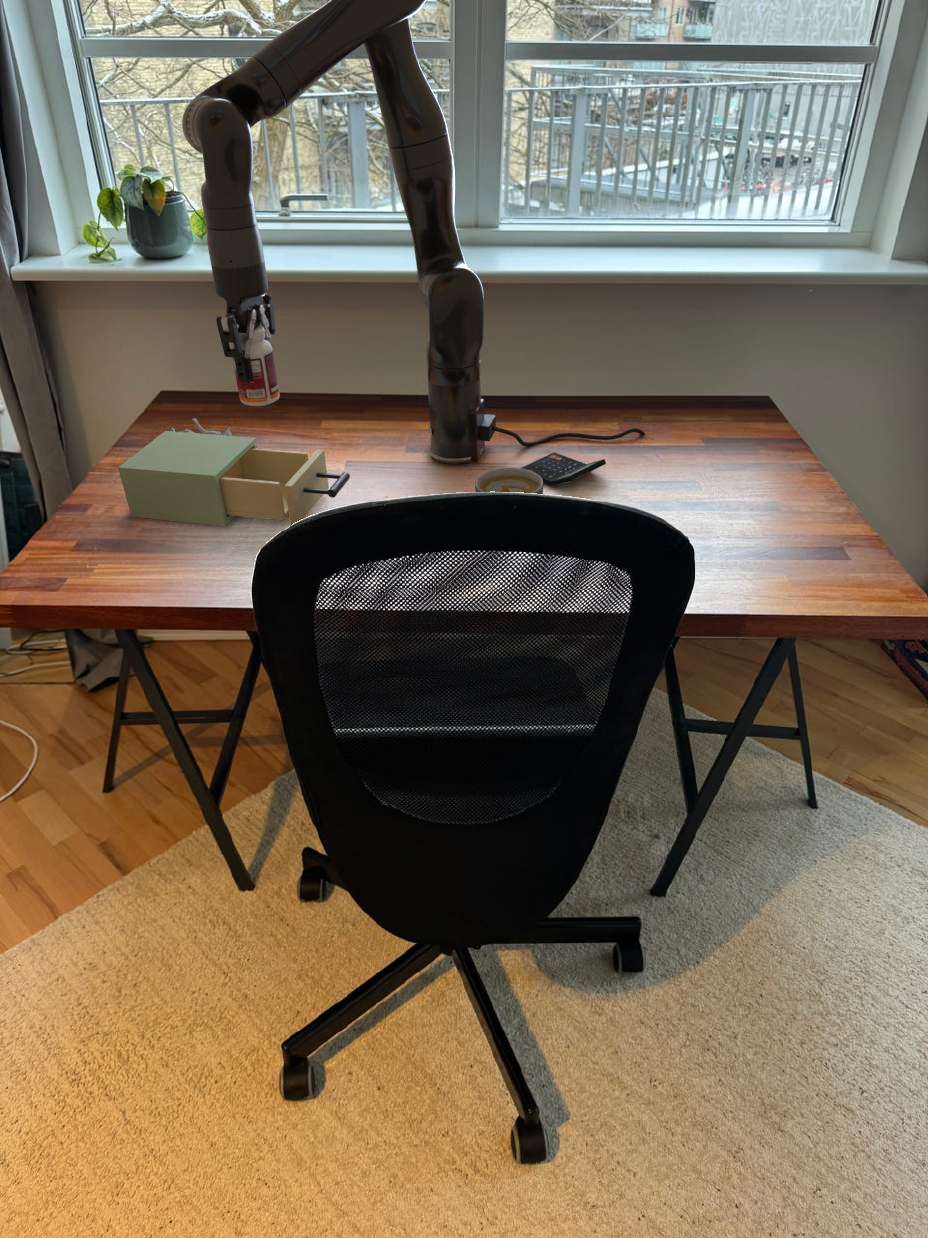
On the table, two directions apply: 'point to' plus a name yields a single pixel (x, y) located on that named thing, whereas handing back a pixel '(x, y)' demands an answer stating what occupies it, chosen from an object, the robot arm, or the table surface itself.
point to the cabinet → (182, 476)
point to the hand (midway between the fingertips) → (256, 373)
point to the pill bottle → (259, 373)
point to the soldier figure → (227, 432)
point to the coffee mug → (509, 481)
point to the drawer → (277, 484)
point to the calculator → (561, 468)
